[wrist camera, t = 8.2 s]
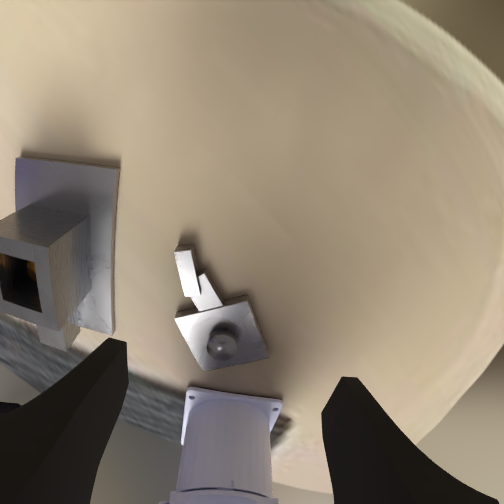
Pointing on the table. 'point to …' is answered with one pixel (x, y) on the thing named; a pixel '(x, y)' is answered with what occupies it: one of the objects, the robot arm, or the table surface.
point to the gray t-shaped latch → (216, 319)
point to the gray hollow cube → (44, 264)
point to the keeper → (101, 232)
